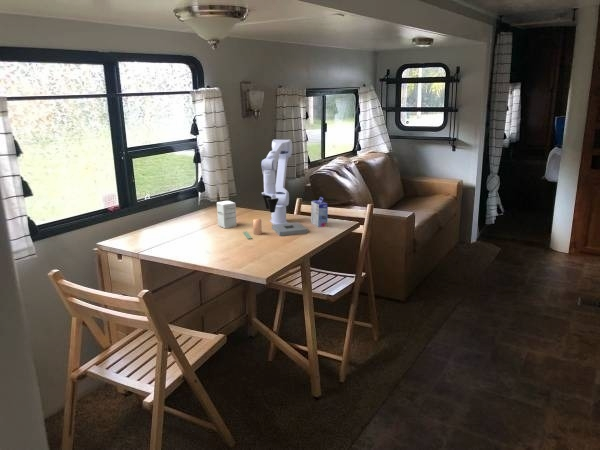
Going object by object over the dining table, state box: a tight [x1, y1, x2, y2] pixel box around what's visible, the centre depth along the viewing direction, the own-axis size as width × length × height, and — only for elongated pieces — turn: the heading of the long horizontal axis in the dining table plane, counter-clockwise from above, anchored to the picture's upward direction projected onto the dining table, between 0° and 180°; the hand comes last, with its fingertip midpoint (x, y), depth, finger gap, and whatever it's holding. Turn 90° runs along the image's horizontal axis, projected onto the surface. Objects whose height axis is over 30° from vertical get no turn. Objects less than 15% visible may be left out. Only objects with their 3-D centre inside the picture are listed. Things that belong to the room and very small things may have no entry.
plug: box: [252, 218, 263, 236], centre depth 237 cm, size 4×4×7 cm
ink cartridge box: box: [310, 196, 329, 228], centre depth 251 cm, size 10×6×14 cm, turn 22°
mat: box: [242, 230, 253, 240], centre depth 238 cm, size 12×12×1 cm
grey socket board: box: [271, 221, 309, 237], centre depth 242 cm, size 14×14×2 cm
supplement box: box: [216, 200, 237, 229], centre depth 253 cm, size 7×7×13 cm
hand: (270, 210), depth 241 cm, fingers open, 7 cm apart
